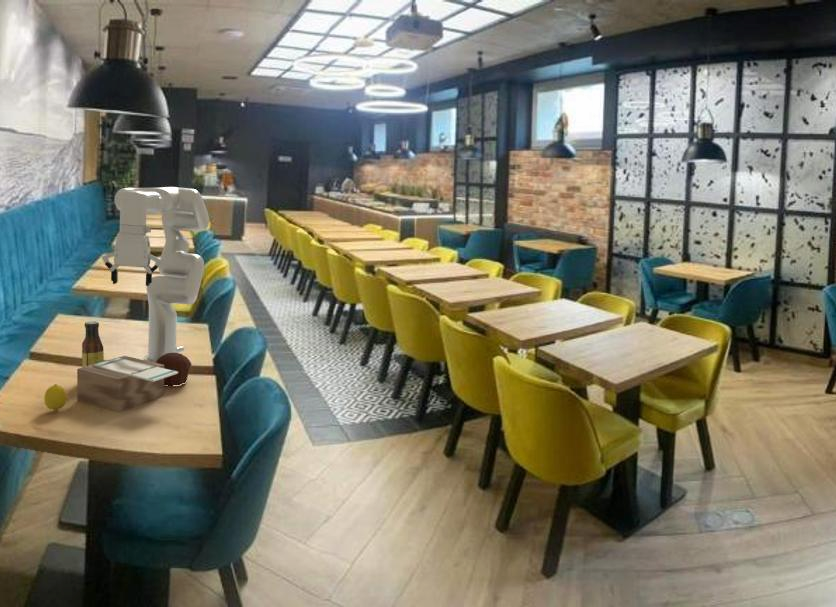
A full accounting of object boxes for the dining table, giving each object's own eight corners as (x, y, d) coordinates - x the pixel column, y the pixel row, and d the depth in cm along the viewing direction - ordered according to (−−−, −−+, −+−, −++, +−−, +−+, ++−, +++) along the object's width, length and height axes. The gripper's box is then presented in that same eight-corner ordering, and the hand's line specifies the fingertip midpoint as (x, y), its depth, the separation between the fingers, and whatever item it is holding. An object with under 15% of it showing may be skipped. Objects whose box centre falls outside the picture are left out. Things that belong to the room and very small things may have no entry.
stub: (157, 368, 195) (157, 366, 195) (178, 373, 192) (178, 371, 192) (132, 376, 186) (132, 374, 186) (153, 381, 183) (153, 379, 183)
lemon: (50, 407, 183) (50, 380, 181) (70, 408, 183) (70, 382, 182) (40, 414, 177) (40, 386, 176) (61, 415, 178) (61, 388, 176)
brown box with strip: (124, 385, 206) (124, 353, 204) (163, 395, 201) (164, 363, 199) (77, 400, 189) (77, 366, 187) (118, 412, 184) (119, 377, 182)
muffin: (146, 383, 210) (147, 354, 208) (171, 375, 220) (171, 347, 218) (174, 390, 206) (175, 361, 204) (198, 382, 216) (199, 354, 214)
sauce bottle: (108, 380, 209) (108, 321, 206) (96, 385, 203) (97, 325, 199) (89, 377, 210) (89, 319, 206) (77, 383, 204) (77, 323, 200)
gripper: (164, 232, 204) (162, 284, 207) (105, 227, 200) (104, 281, 203) (160, 233, 197) (158, 288, 200) (99, 229, 193) (98, 284, 196)
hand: (131, 284), depth 202 cm, fingers open, 9 cm apart
